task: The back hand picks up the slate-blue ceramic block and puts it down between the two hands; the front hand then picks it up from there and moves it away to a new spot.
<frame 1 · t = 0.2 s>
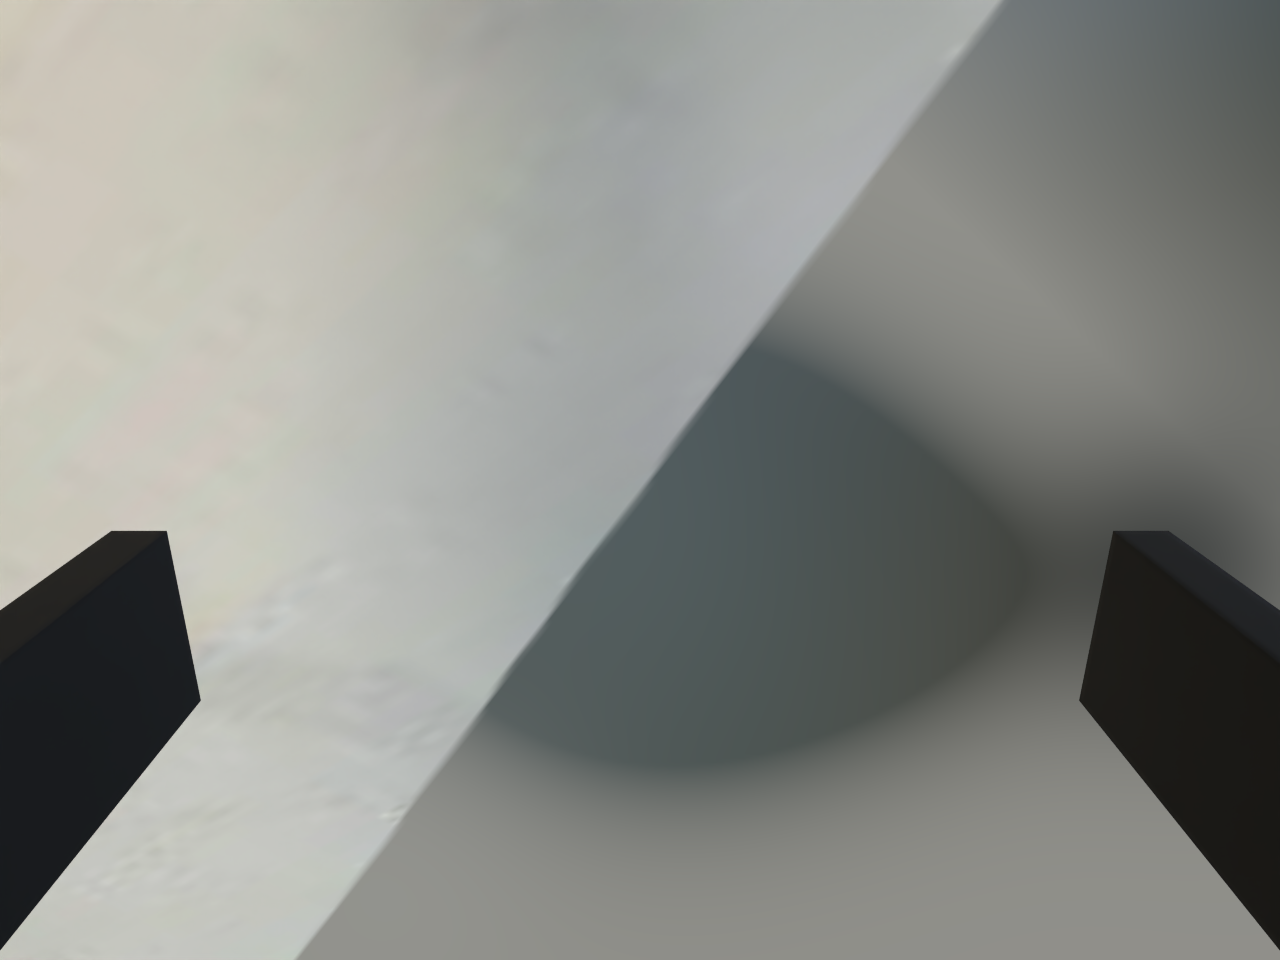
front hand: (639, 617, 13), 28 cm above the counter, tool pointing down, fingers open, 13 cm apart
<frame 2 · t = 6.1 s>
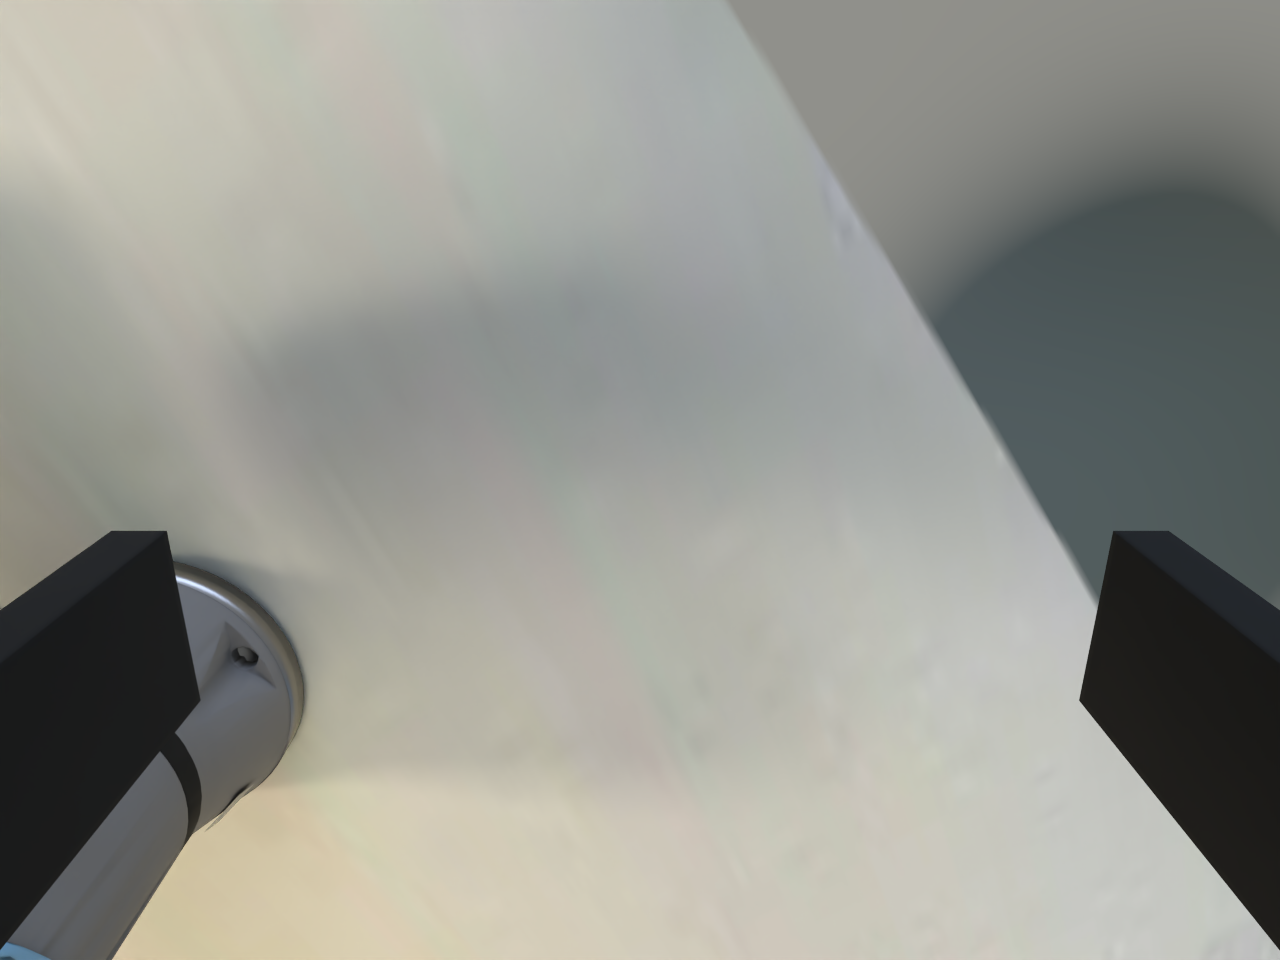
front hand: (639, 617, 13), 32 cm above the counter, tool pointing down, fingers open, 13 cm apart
when the back hand's fingers open (3 cm above the counter, at t = 14.6 s): block drops 2 cm, on the counter.
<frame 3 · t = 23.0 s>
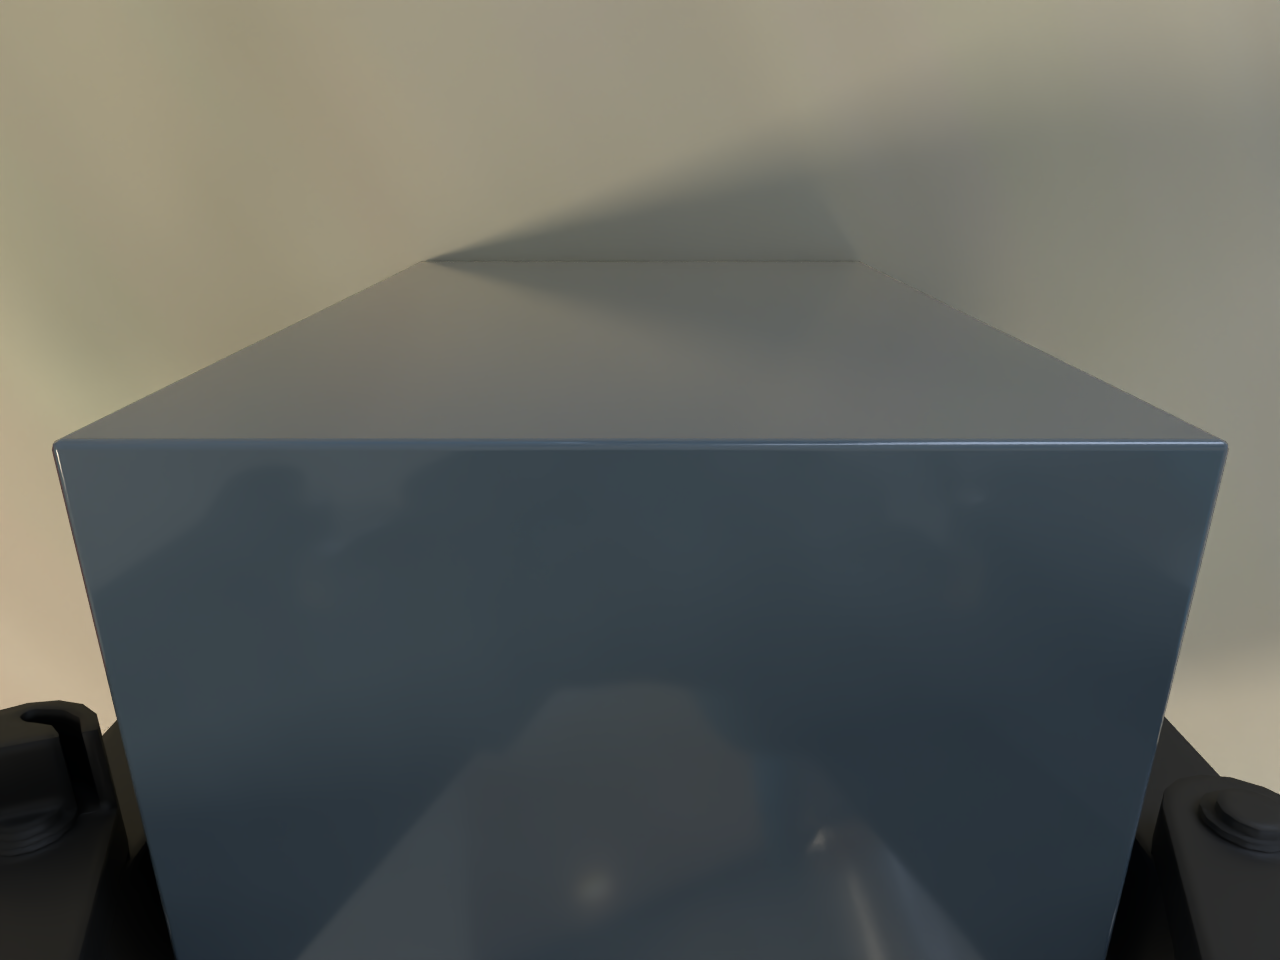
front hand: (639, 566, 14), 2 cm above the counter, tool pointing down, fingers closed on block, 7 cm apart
block: (640, 528, 16), on the counter, touching front hand
when the front hand's fingers open (3 cm above the counter, at t = 30.0 s): block drops 2 cm, on the counter.
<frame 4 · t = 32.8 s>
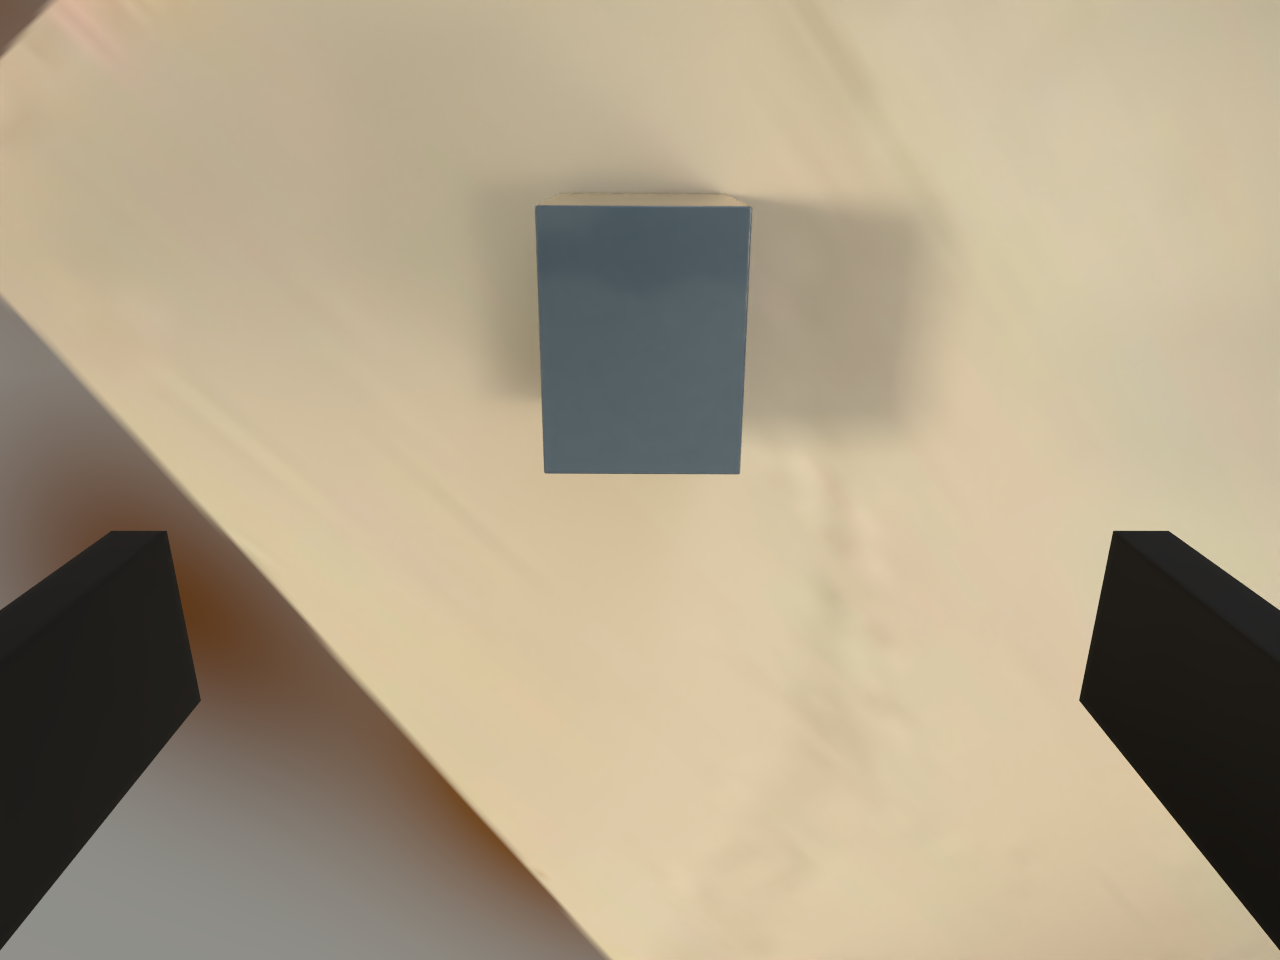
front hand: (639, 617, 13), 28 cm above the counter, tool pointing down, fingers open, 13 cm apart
block: (642, 303, 39), on the counter
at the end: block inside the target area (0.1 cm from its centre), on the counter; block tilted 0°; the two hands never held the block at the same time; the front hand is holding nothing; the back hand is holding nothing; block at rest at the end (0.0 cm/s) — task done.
